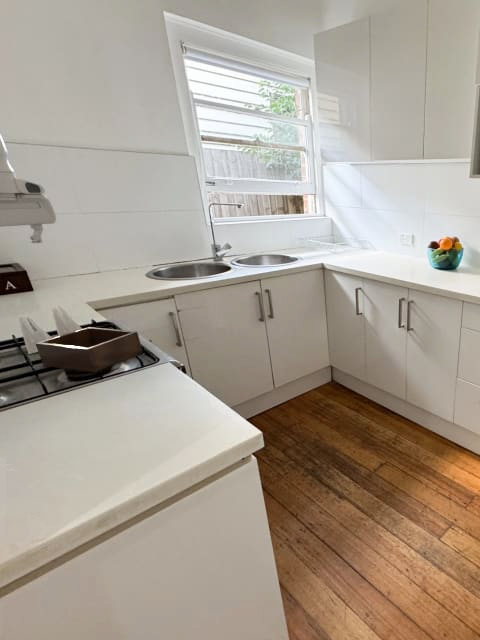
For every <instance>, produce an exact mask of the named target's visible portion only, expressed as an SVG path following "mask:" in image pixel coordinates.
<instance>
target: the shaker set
mask: <svg viewBox="0 0 480 640" xmlns="http://www.w3.org/2000/svg"><path fill="white" fill-rule="evenodd" d="M51 312H52V316H53V321H54V324H55V330H56V332H57V337H58V336H61V335H64V334H68V333H71V332H74V331H78V330H81V329H83V328H82V327H81V326H80V325H79V324H78V323H77V322H76V321H75V319H74V318H73V317H72V316H71V315H70V314H69V313H68V312H67V311H66V309H65V308H63V307H62V306H60V305H58V306H57V307H56V306H53V307H51ZM18 322H19V326H20V329H21V334H22V338H23V341H24V344H25V347H26V350H27V353H28V355H31V354H35V353H39V352H38V350H37V347H36V344H35V343H38V342H41V341H45V340H48V339H51V338H52V337H51V336H50V334H48V332H47V331H46V330H45V329H43V328H42V326H41V325H40V324H39V323H37V321H35V320H34V318H32V317H31V316H30V315H29V314H25V316H23V315H19V316H18Z"/></svg>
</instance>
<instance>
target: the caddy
mask: <svg viewBox="0 0 480 640" xmlns="http://www.w3.org/2000/svg"><path fill="white" fill-rule="evenodd" d="M35 344H36V347H37V350H38V352H37V353H38V356H39V358H40V360H41V363H42V366H43V367H49V368H59V369H64V370H74V371H80V372H81V371H82V372H89V373H98V372H100V371H102V370H105V369H107V368H109V367H111V366H114V365H116V364H119V363H121V362H123V361H126V360H128V359H131V358H133V357H136V356H138V355H140V354H143V353H144V351H143V348H142V344H141V341H140V337H139V333H138V331H134V330H124V329H114V328H102V327H92V326H88V327H85V328H82V329H81V330H78V331H74V332H71V333H68V334H64V335H61V336H58V335H57V336H55V337H51V339H48V340H45V341H41V342H38V343H35Z"/></svg>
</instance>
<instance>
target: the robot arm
mask: <svg viewBox="0 0 480 640" xmlns="http://www.w3.org/2000/svg"><path fill="white" fill-rule="evenodd" d="M45 193H46V189H45V187H44V186H43V185H42V184H39V183H35V182H32V181H29V180H26V179H23V178H19V177H17V173H16V171H15V169H14V168H13V166H12V165H11V163H10V160H9V151H8V147H7V145H6V142H5V140H4V137H3V135H2V133H1V132H0V227H1V228H2V227H17V226H30V229H32V230H33V231H32V235H29V236H28V237H29V239H30V243H31V244H41V243H43V240H42V234H43V231H44V227H43V225H51V224H55V223H56V221H57V215H56V212H55V210H54V206H53V204H52V203H51V201H50V199H49V198H48V197H47V196H46V195H45Z"/></svg>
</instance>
